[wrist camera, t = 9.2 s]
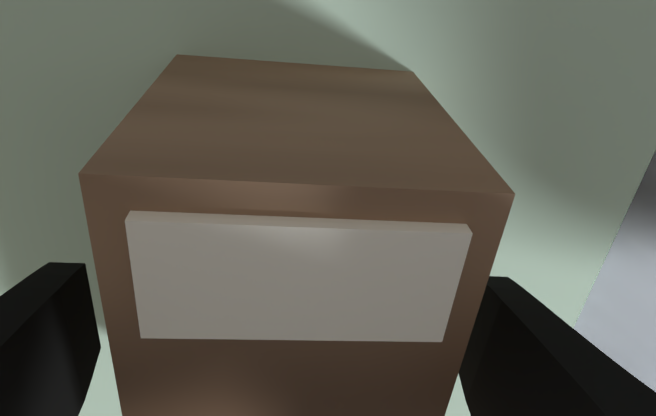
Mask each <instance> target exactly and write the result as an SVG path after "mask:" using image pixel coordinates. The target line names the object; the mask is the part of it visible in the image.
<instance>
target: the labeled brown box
mask: <svg viewBox="0 0 656 416" xmlns="http://www.w3.org/2000/svg"><path fill="white" fill-rule="evenodd" d="M78 176H79V181H80V187H81V192H82V198H83V203H84V209H85V214H86V220H87V225H88V231H89V236H90V242H91V247H92V253H93V258H94V264H95V269H96V275H97V280H98V286H99V291H100V297H101V302H102V308H103V313H104V319H105V324H106V330H107V335H108V341H109V346H110V352H111V357H112V363H113V368H114V374H115V379H116V385H117V390H118V396H119V401H120V407H121V412H122V416H445V414H446V410H447V407H448V404H449V401H450V398H451V395H452V392H453V389H454V385H455V382H456V379H457V376H458V373H459V370H460V367H461V363H462V360H463V357H464V354H465V351H466V348H467V345H468V341H469V338H470V335H471V332H472V329H473V326H474V323H475V319H476V316H477V313H478V310H479V307H480V304H481V301H482V298H483V294H484V291H485V288H486V285H487V282H488V279H489V276H490V272H491V269H492V266H493V263H494V260H495V257H496V254H497V250H498V247H499V244H500V241H501V238H502V235H503V232H504V229H505V225H506V222H507V219H508V216H509V213H510V210H511V207H512V203H513V200H514V197H515V193H514V192H513V190H512V189H511V188H510V187H509V186H508V184H507V183H506V182H505V181H504V180H503V178H502V177H501V176H500V175H499V174H498V173H497V171H496V170H495V169H494V168H493V167H492V165H491V164H490V163H489V162H488V161H487V159H486V158H485V157H484V156H483V155H482V153H481V152H480V151H479V150H478V149H477V147H476V146H475V145H474V144H473V143H472V141H471V140H470V139H469V138H468V137H467V135H466V134H465V133H464V132H463V131H462V130H461V128H460V127H459V126H458V125H457V124H456V122H455V121H454V120H453V119H452V118H451V116H450V115H449V114H448V113H447V112H446V110H445V109H444V108H443V107H442V106H441V104H440V103H439V102H438V101H437V100H436V98H435V97H434V96H433V95H432V94H431V93H430V91H429V90H428V89H427V88H426V87H425V85H424V84H423V83H422V82H421V81H420V79H419V78H418V77H417V76H416V75H415V73H414V72H411V71H398V70H384V69H370V68H357V67H343V66H330V65H316V64H302V63H289V62H275V61H261V60H248V59H234V58H220V57H207V56H193V55H179V54H177V55H176V56H175V57H174V58H173V59H172V61H171V62H170V63H169V64H168V66H167V67H166V68H165V69H164V70H163V72H162V73H161V74H160V75H159V76H158V78H157V79H156V80H155V81H154V82H153V84H152V85H151V86H150V87H149V88H148V90H147V91H146V92H145V93H144V94H143V96H142V97H141V98H140V99H139V101H138V102H137V103H136V104H135V105H134V107H133V108H132V109H131V110H130V111H129V113H128V114H127V115H126V116H125V117H124V119H123V120H122V121H121V122H120V123H119V125H118V126H117V127H116V128H115V130H114V131H113V132H112V133H111V134H110V136H109V137H108V138H107V139H106V140H105V142H104V143H103V144H102V145H101V146H100V148H99V149H98V150H97V151H96V152H95V154H94V155H93V156H92V157H91V158H90V160H89V161H88V162H87V163H86V165H85V166H84V167H83V168H82V169H81V171H80V172H79V173H78Z"/></svg>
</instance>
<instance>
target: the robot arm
mask: <svg viewBox="0 0 656 416" xmlns="http://www.w3.org/2000/svg"><path fill="white" fill-rule="evenodd" d="M100 350H101V344H100V339H99V334H98V328H97V323H96V318H95V312H94V307H93V301H92V296H91V291H90V285H89V280H88V275H87V269H86V264H85V263H63V262H48V263H47V264H45V265H44V266H42V267H41V268H39V269H38V270H36V271H35V272H33V273H32V274H30V275H29V276H28V277H26V278H25V279H23V280H22V281H20V282H19V283H18V284H16V285H15V286H13V287H12V288H11V289H9V290H8V291H7V292H5V293H4V294H2V295H1V296H0V416H78V415H79V413H80V411H81V408H82V406H83V404H84V401H85V398H86V395H87V392H88V389H89V386H90V383H91V380H92V377H93V373H94V370H95V367H96V363H97V360H98V356H99V353H100ZM459 377H460V381H461V385H462V389H463V393H464V396H465V400H466V403H467V406H468V409H469V412H470V414H471V416H656V392H654V391H653V390H652V389H650V388H649V387H648V386H646V385H645V384H644V383H642V382H641V381H639V380H638V379H637V378H635V377H634V376H633V375H631V374H630V373H629V372H627V371H626V370H625V369H624V368H622V367H621V366H620V365H618V364H617V363H616V362H614V361H613V360H612V359H611V358H609V357H608V356H607V355H605V354H604V353H603V352H602V351H600V350H599V349H598V348H597V347H595V346H594V345H593V344H592V343H590V342H589V341H588V340H587V339H585V338H584V337H583V336H582V335H580V334H579V333H578V332H577V331H576V330H574V329H573V328H572V327H571V326H569V325H568V324H567V323H566V322H564V321H563V320H562V319H561V318H560V317H558V316H557V315H556V314H555V313H554V312H552V311H551V310H550V309H549V308H547V307H546V306H545V305H544V304H543V303H541V302H540V301H539V300H538V299H536V298H535V297H534V296H533V295H531V294H530V293H529V292H528V291H526V290H525V289H524V288H523V287H521V286H520V285H519V284H517V283H516V282H515V281H513V280H512V279H510V278H509V277H501V276H489V279H488V282H487V285H486V288H485V291H484V294H483V298H482V301H481V304H480V307H479V310H478V313H477V316H476V319H475V323H474V326H473V329H472V332H471V335H470V338H469V341H468V345H467V348H466V351H465V354H464V357H463V360H462V363H461V367H460V370H459Z"/></svg>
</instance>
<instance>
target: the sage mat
mask: <svg viewBox="0 0 656 416" xmlns="http://www.w3.org/2000/svg"><path fill="white" fill-rule="evenodd" d="M177 54H179V55H193V56H207V57H220V58H234V59H248V60H261V61H275V62H289V63H302V64H316V65H330V66H343V67H357V68H370V69H384V70H398V71H411V72H414V73H415V75H416V76H417V77H418V78H419V79H420V81H421V82H422V83H423V84H424V85H425V87H426V88H427V89H428V90H429V91H430V93H431V94H432V95H433V96H434V97H435V98H436V100H437V101H438V102H439V103H440V104H441V106H442V107H443V108H444V109H445V110H446V112H447V113H448V114H449V115H450V116H451V118H452V119H453V120H454V121H455V122H456V124H457V125H458V126H459V127H460V128H461V130H462V131H463V132H464V133H465V134H466V135H467V137H468V138H469V139H470V140H471V141H472V143H473V144H474V145H475V146H476V147H477V149H478V150H479V151H480V152H481V153H482V155H483V156H484V157H485V158H486V159H487V161H488V162H489V163H490V164H491V165H492V167H493V168H494V169H495V170H496V171H497V173H498V174H499V175H500V176H501V177H502V178H503V180H504V181H505V182H506V183H507V184H508V186H509V187H510V188H511V189H512V190H513V192H514V193H515V197H514V200H513V203H512V207H511V210H510V213H509V216H508V219H507V222H506V225H505V229H504V232H503V235H502V238H501V241H500V244H499V247H498V250H497V254H496V257H495V260H494V263H493V266H492V269H491V272H490V276H501V277H509V278H510V279H512V280H513V281H515V282H516V283H517V284H519V285H520V286H521V287H523V288H524V289H525V290H526V291H528V292H529V293H530V294H531V295H533V296H534V297H535V298H536V299H538V300H539V301H540V302H541V303H543V304H544V305H545V306H546V307H547V308H549V309H550V310H551V311H552V312H554V313H555V314H556V315H557V316H558V317H560V318H561V319H562V320H563V321H564V322H566V323H567V324H568V325H569V326H571V327H572V328H574V326H575V323H576V321H577V319H578V317H579V315H580V313H581V310H582V308H583V306H584V304H585V302H586V300H587V297H588V295H589V293H590V291H591V289H592V287H593V284H594V282H595V280H596V278H597V276H598V274H599V271H600V269H601V267H602V265H603V263H604V261H605V258H606V256H607V254H608V252H609V250H610V248H611V245H612V243H613V241H614V239H615V237H616V235H617V232H618V230H619V228H620V226H621V224H622V222H623V220H624V217H625V215H626V213H627V211H628V209H629V207H630V204H631V202H632V200H633V198H634V196H635V194H636V191H637V189H638V187H639V185H640V183H641V181H642V178H643V176H644V174H645V172H646V170H647V168H648V165H649V163H650V161H651V159H652V157H653V155H654V152H655V150H656V0H0V296H1V295H2V294H4V293H5V292H7V291H8V290H9V289H11V288H12V287H13V286H15V285H16V284H18V283H19V282H20V281H22V280H23V279H25V278H26V277H28V276H29V275H30V274H32V273H33V272H35V271H36V270H38V269H39V268H41V267H42V266H44V265H45V264H47V263H48V262H63V263H85V264H86V269H87V275H88V280H89V285H90V291H91V296H92V301H93V307H94V312H95V318H96V323H97V328H98V334H99V339H100V344H101V350H100V353H99V356H98V360H97V363H96V367H95V370H94V373H93V377H92V380H91V383H90V386H89V389H88V392H87V395H86V398H85V401H84V404H83V406H82V408H81V411H80V413H79V415H78V416H122V412H121V407H120V401H119V396H118V390H117V385H116V379H115V374H114V368H113V363H112V357H111V352H110V346H109V341H108V335H107V330H106V324H105V319H104V313H103V308H102V302H101V297H100V291H99V286H98V280H97V275H96V269H95V264H94V258H93V253H92V247H91V242H90V236H89V231H88V225H87V220H86V214H85V209H84V203H83V198H82V192H81V187H80V181H79V176H78V173H79V172H80V171H81V169H82V168H83V167H84V166H85V165H86V163H87V162H88V161H89V160H90V158H91V157H92V156H93V155H94V154H95V152H96V151H97V150H98V149H99V148H100V146H101V145H102V144H103V143H104V142H105V140H106V139H107V138H108V137H109V136H110V134H111V133H112V132H113V131H114V130H115V128H116V127H117V126H118V125H119V123H120V122H121V121H122V120H123V119H124V117H125V116H126V115H127V114H128V113H129V111H130V110H131V109H132V108H133V107H134V105H135V104H136V103H137V102H138V101H139V99H140V98H141V97H142V96H143V94H144V93H145V92H146V91H147V90H148V88H149V87H150V86H151V85H152V84H153V82H154V81H155V80H156V79H157V78H158V76H159V75H160V74H161V73H162V72H163V70H164V69H165V68H166V67H167V66H168V64H169V63H170V62H171V61H172V59H173V58H174V57H175V56H176V55H177ZM445 416H471V414H470V412H469V409H468V406H467V403H466V400H465V396H464V393H463V389H462V385H461V381H460V377H459V373H458V376H457V379H456V382H455V385H454V389H453V392H452V395H451V398H450V401H449V404H448V407H447V410H446V414H445Z"/></svg>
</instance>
